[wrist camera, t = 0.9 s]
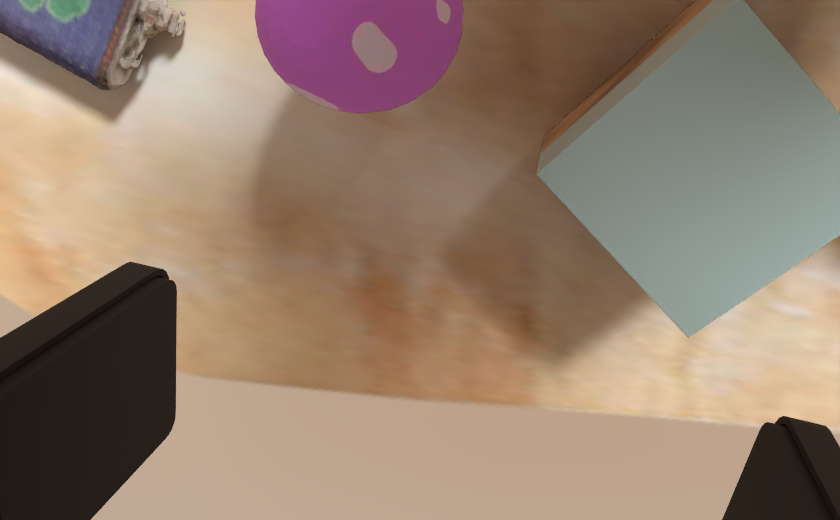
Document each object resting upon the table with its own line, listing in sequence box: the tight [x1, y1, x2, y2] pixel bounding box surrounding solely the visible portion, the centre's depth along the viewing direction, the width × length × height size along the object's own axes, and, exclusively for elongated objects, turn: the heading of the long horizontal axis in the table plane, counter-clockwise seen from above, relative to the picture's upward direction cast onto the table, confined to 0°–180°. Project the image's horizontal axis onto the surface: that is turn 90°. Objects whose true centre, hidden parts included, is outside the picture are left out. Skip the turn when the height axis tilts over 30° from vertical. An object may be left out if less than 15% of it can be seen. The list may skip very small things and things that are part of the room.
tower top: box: [536, 0, 840, 338], centre depth 27 cm, size 9×9×4 cm
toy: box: [255, 0, 464, 113], centre depth 26 cm, size 7×7×15 cm
